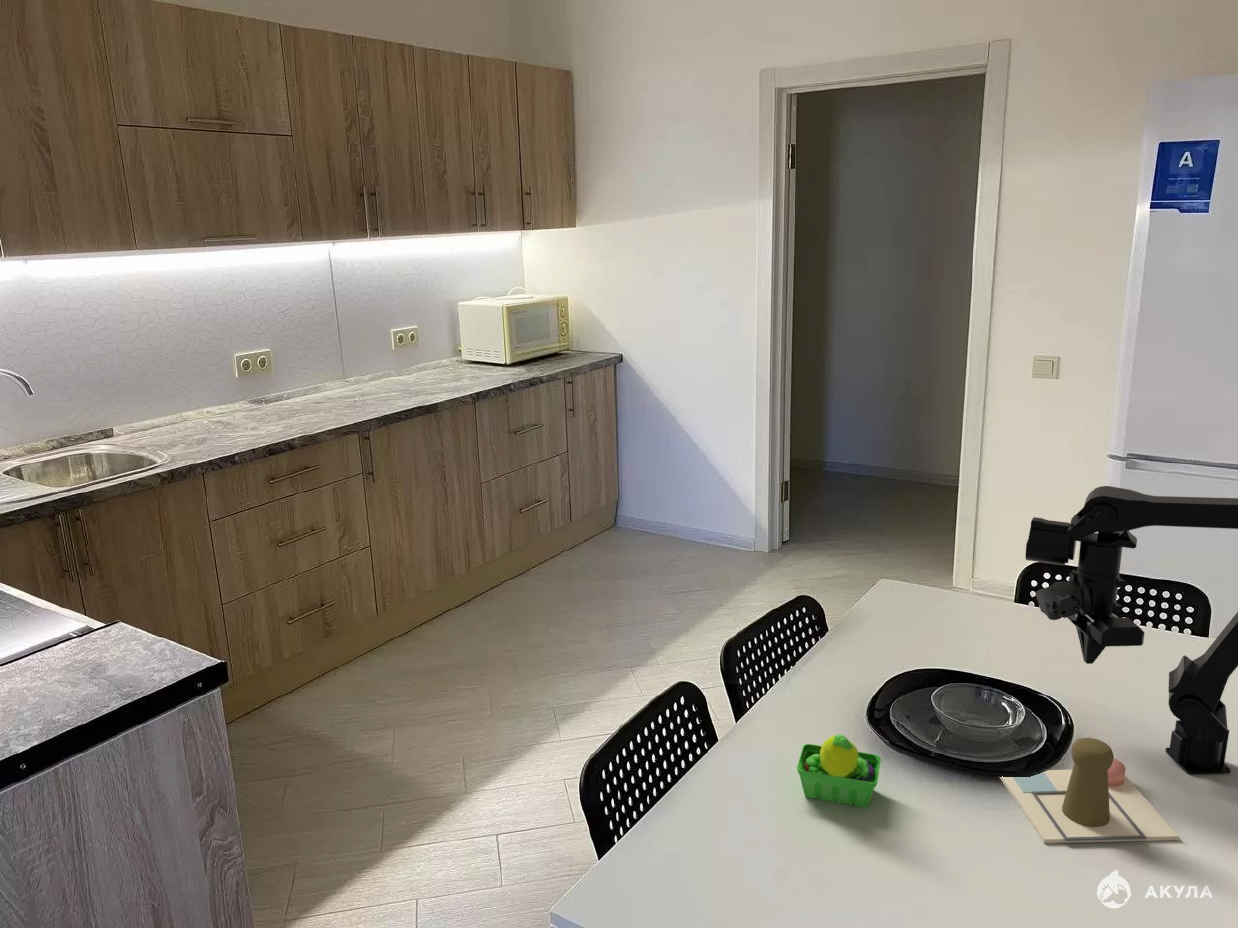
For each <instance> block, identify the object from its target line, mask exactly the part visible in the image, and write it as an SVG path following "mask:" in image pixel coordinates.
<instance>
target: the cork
mask: <svg viewBox="0 0 1238 928" xmlns="http://www.w3.org/2000/svg"><path fill="white" fill-rule="evenodd" d="M1070 754H1071V758H1072V761H1073V766H1072V769H1071V770H1072V773H1071V777H1070V780H1069V784H1068V787H1067V791H1066V795H1065V798H1064V802H1063V805H1062V812H1063V813H1064V815H1065V816H1066V817H1067V818H1069V819H1070V820H1071V821H1073V822H1075V823H1077V824H1080V825H1083V826H1089V827H1101V826H1105V825H1106V824H1108V823H1109V820H1110V811H1109V788H1108V769H1109V768H1110V767H1111V765H1112V763H1113V760H1114V759H1115V757H1114V752H1113V750H1112V748H1111V746H1110V745H1109V744H1107V743H1106V742H1104V741H1102V740H1101V739H1098V738H1093V737H1082V738H1078V739H1077V740H1075V742H1073V744H1072V747H1071V750H1070Z"/></svg>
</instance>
